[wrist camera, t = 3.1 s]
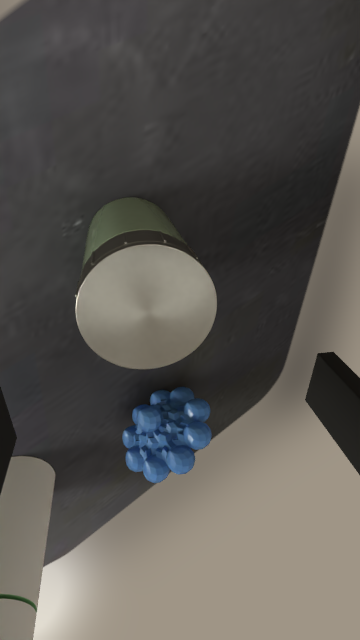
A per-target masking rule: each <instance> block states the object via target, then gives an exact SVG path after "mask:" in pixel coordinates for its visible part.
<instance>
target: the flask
mask: <svg viewBox="0 0 360 640" xmlns="http://www.w3.org/2000/svg"><path fill="white" fill-rule="evenodd" d="M135 230H153V231H161V232H163V233H166V234H169V235H171V236H173V237H175V238H177V239H179V240H180V241H182V242H183V243H184V244H185V245H187V244H186V242H185V241H184V239H183V238H182V236H181V235H180V234H179V232H178V231H177V229H176V228H175V226H174V225H173V224H172V222H171V221H170V219H169V218H168V216H167V215H166V214H165V213H164V212H163V210H161V209H160V208H159V207H158V206H156V205H155V204H153V203H151V202H149V201H147V200H144V199H140V198H132V197H128V198H121V199H117V200H114V201H112V202H110V203H108V204H106V205H105V206H104V207H102V208H101V209H100V210H99V211H98V212H97V213H96V215H95V216H94V217H93V219H92V221H91V223H90V226H89V229H88V233H87V240H86V246H85V253H84V259H83V265H82V270H83V268H84V265H85V264H86V262H87V260H88V258H89V257H90V256H91V255H92V252H93V251H95V250H96V249H97V248H98V247H99V246H100V245H102V244H103V243H104V242H106V241H107V240H109V239H111V238H113V237H114V236H117V235H119V234H122V233H123V232H129V231H135ZM187 246H188V245H187ZM188 247H189V246H188ZM81 273H82V272H81Z"/></svg>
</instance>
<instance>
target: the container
mask: <svg viewBox="0 0 360 640" xmlns="http://www.w3.org/2000/svg"><path fill="white" fill-rule="evenodd" d="M54 483H55V471H54V469H53V468H52V467H51V465H49V464H48V463H47V462H45V461H43V460H41V459H38V458H34V457H28V456H16V457H11V460H10V463H9V467H8V470H7V474H6V477H5V481H4V484H3V488H2V491H1V495H0V640H33V634H34V627H35V619H36V612H37V605H38V598H39V591H40V584H41V576H42V569H43V562H44V555H45V548H46V540H47V533H48V526H49V519H50V512H51V504H52V497H53V490H54Z"/></svg>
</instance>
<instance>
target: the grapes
mask: <svg viewBox="0 0 360 640" xmlns="http://www.w3.org/2000/svg"><path fill="white" fill-rule="evenodd" d="M150 405H151V406H149V405H146V404H145V405H139V406H137V407H136V408H134V410H133V413H132V418H133V421H134V423H135V424H136V425H133V426H130V427H128V428H126V429H125V430H124V432H123V437H122V438H123V443H124V445H125V446H126V447H127V448H129V450H128V451H127V453H126V457H125V458H126V464H127V466H128V467H129V469H130V470H132V471H135V472H139V471H143V474H144V476H145V477H146V479H147V480H148V481H150V482H153V483H158V482H161V481H163V480H164V479H165V478H167V476H168V474H169V471H170V469H171V471H172V472H174V473H176V474H186V473H187V472H188V471H190V470H191V469H192V468H193V466H194V462H195V456H194V452H193V451H192V450H191V449H190V448H193V449H195V450H198V449H203V448H205V447H206V446H207V445H208V444H209V443H210V440H211V436H212V434H211V430H210V428H209V427H208V426H207V425H206V424H205V423H203V422H205V421H206V420H207V419H208V417H209V414H210V407H209V404H208V403H207V402H206V401H205V400H202V399H199V398H197V399H194V394H193V392H192V391H191V390H190V389H189V388H186V387H178V388H176V389H174V390H173V391H172V392H171V393H170V392H169V391H166V390H158V391H156V392H154V393H153V394H152V395H151V398H150Z"/></svg>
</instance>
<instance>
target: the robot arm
mask: <svg viewBox="0 0 360 640" xmlns="http://www.w3.org/2000/svg"><path fill="white" fill-rule="evenodd" d="M305 400H306V402H307V403H308V405H309V406H310V407H311V408H312V410H313V411H314V413H315V414H316V415H317V417H318V418H319V420H320V421H321V422H322V424H323V425H324V427H325V428H326V429H327V431H328V432H329V433H330V435H331V436H332V437H333V439H334V440H335V441H336V443H337V444H338V446H339V447H340V448H341V450H342V451H343V453H344V454H345V455H346V457H347V458H348V460H349V461H350V462H351V463H352V465H353V466H354V468H355V469H356V470H357V472H358V473H359V475H360V378H359V377H358V376H357V375H356V374H355V373H354V372H353V371H352V370H351V369H350V368H349V367H348V366H347V365H346V364H345V363H344V362H343V361H342V360H341V359H340V358H339V357H338V356H337V355H336V354H335V353H334V352H327V353H318V354H317V359H316V362H315V366H314V369H313V373H312V377H311V380H310V384H309V388H308V392H307V395H306V399H305ZM16 439H17V436H16V433H15V430H14V427H13V424H12V421H11V418H10V415H9V412H8V409H7V406H6V403H5V400H4V396H3V393H2V390H1V387H0V495H1V491H2V488H3V484H4V481H5V477H6V474H7V470H8V467H9V463H10V460H11V456H12V453H13V449H14V446H15V442H16Z"/></svg>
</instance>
